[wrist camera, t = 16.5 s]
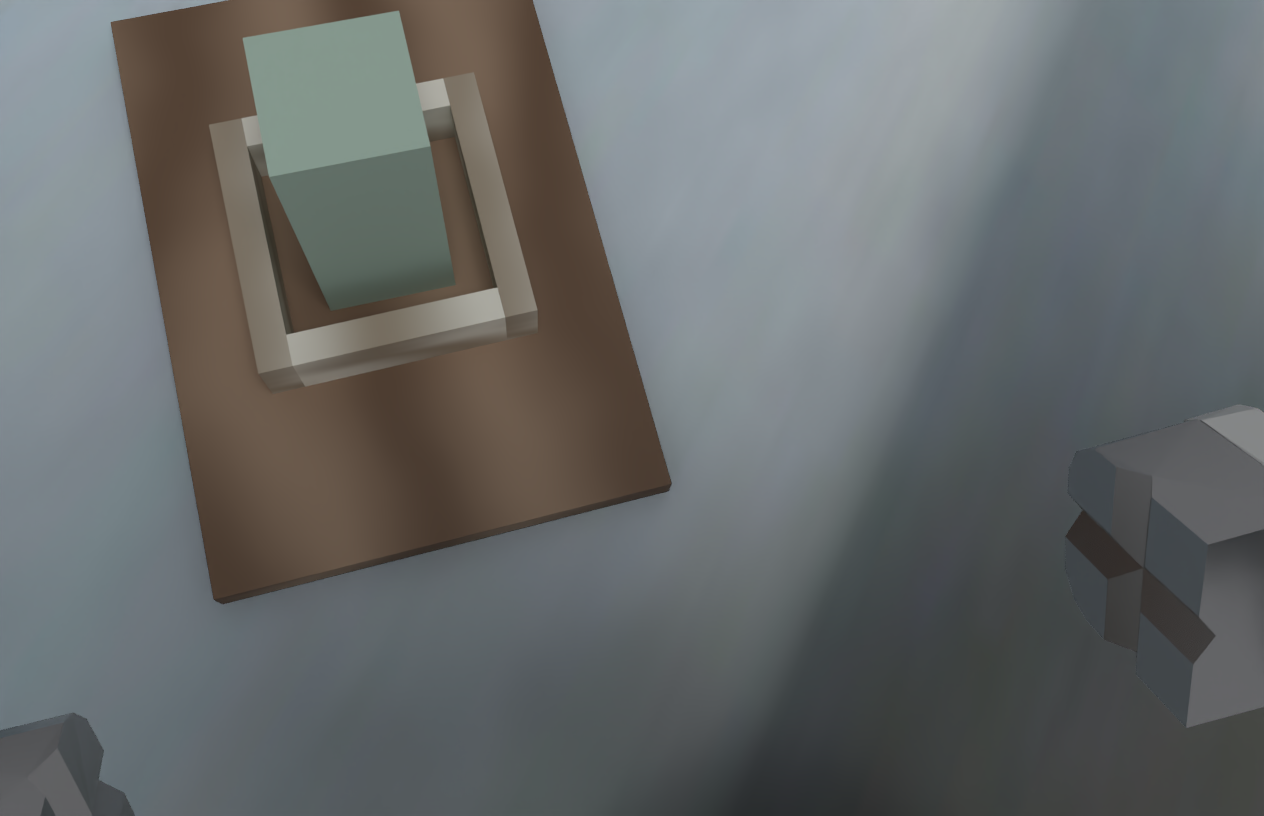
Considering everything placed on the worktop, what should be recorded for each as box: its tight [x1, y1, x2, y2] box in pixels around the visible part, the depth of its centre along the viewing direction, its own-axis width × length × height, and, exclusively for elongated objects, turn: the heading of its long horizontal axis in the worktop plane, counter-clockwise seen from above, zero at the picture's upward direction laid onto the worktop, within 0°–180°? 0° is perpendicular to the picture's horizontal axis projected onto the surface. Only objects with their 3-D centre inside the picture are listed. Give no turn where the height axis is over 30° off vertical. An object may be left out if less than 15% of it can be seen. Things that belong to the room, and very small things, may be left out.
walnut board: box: [111, 0, 672, 604], centre depth 39 cm, size 14×20×3 cm
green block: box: [243, 11, 456, 311], centre depth 35 cm, size 4×4×9 cm
